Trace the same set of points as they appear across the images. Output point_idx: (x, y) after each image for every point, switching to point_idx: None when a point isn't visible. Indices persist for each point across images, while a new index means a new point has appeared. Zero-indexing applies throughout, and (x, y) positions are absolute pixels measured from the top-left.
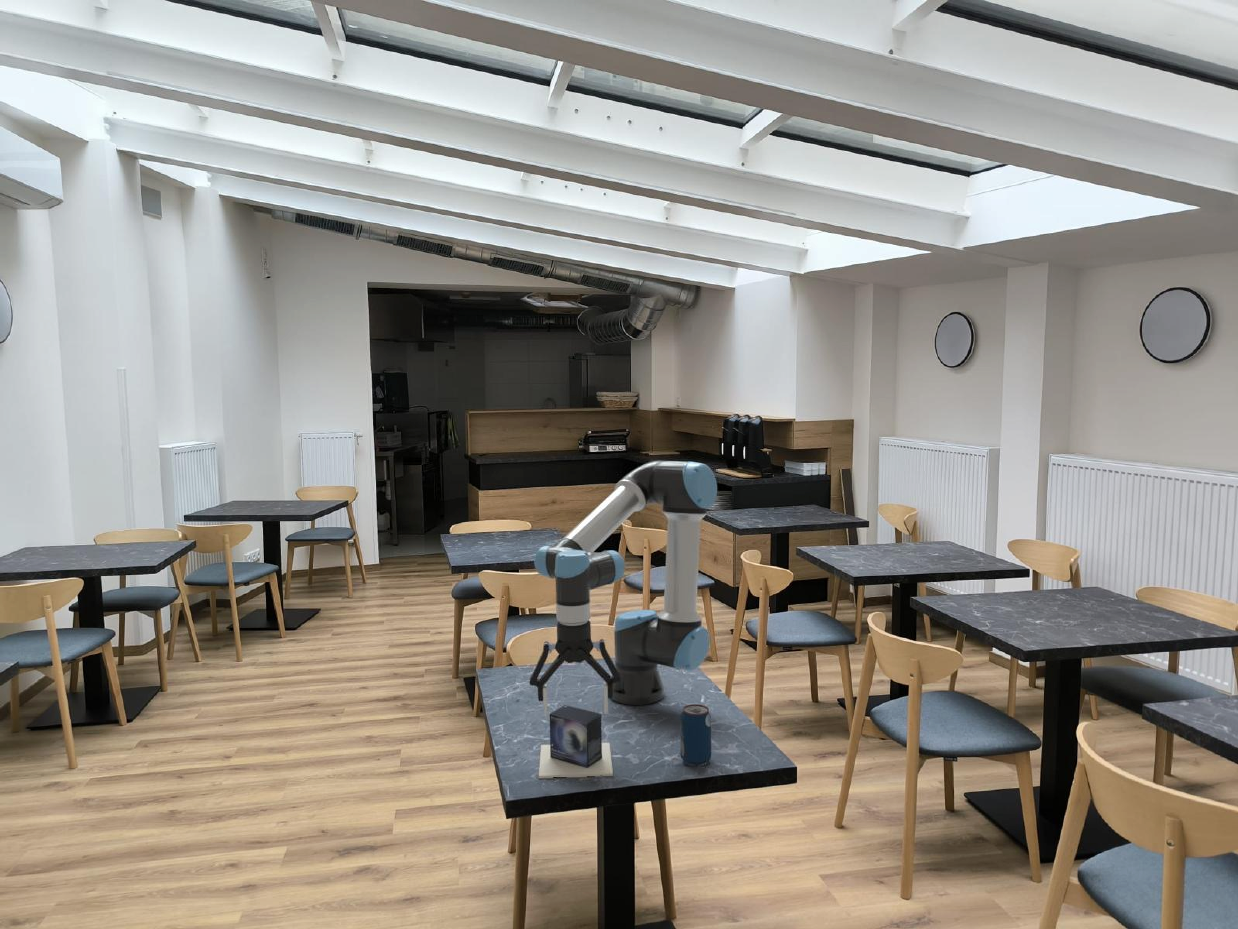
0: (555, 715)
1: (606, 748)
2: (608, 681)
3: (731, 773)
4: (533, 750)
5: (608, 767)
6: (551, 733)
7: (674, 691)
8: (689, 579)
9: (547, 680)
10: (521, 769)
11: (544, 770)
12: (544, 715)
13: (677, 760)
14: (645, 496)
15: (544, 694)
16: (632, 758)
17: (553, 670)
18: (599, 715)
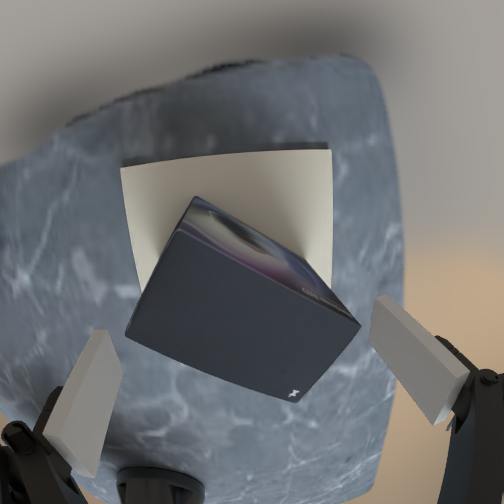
0: (340, 315)
1: None
2: (30, 456)
3: None
4: None
5: (134, 204)
6: (327, 286)
7: (110, 484)
8: None
9: (478, 415)
10: (371, 206)
11: (318, 181)
12: (387, 297)
13: (7, 265)
14: None
15: (443, 354)
16: (89, 275)
17: (482, 485)
18: (130, 323)
